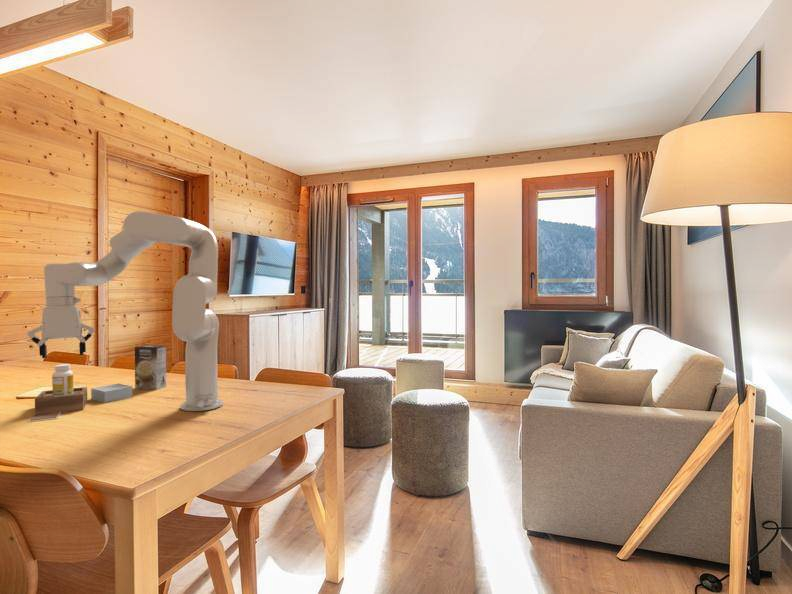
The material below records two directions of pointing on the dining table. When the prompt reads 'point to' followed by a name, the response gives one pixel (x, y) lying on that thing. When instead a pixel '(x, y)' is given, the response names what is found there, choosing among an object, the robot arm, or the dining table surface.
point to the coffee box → (150, 367)
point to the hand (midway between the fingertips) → (63, 356)
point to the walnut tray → (61, 401)
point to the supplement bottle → (62, 380)
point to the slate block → (111, 392)
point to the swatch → (44, 416)
